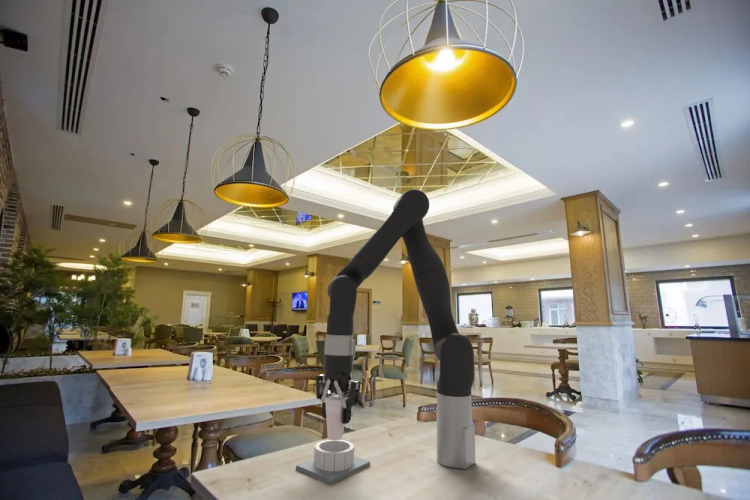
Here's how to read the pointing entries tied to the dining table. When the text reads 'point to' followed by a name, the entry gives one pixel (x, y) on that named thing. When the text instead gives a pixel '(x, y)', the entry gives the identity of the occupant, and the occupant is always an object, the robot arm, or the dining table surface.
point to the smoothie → (334, 417)
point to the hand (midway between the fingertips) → (335, 420)
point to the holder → (333, 461)
